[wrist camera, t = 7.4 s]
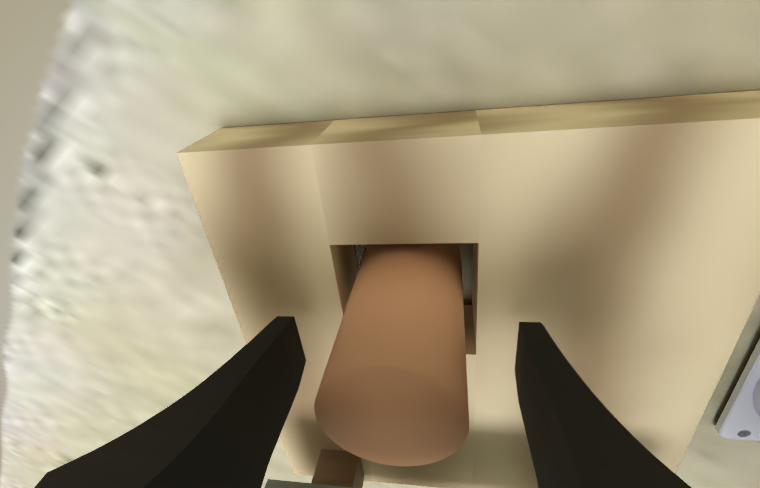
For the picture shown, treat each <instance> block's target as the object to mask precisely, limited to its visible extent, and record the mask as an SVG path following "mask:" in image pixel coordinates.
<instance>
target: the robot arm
mask: <svg viewBox="0 0 760 488" xmlns="http://www.w3.org/2000/svg"><path fill="white" fill-rule="evenodd" d="M305 363H306V358H305V354H304V351H303V347H302V343H301V339H300V336H299V332H298V328H297V325H296V321H295V317H294V316H277V317H276V318H275V319H273V320H272V321H271V322H270V323H269V324H268V325H267V326H266V327H265V328H264V329H263V330H261V331H260V332H259V333H258V334H257V335H256V336H255V337H254V338H253V339H252V340H251V341H250V342H249V343H247V344H246V345H245V346H244V347H243V348H242V349H241V350H240V351H239V352H238V353H236V354H235V355H234V356H233V357H232V358H231V359H230V360H229V361H227V362H226V363H225V364H224V365H223V366H221V367H220V368H219V369H218V370H217V371H215V372H214V373H213V374H212V375H211V376H209V377H208V378H207V379H206V380H205V381H203V382H202V383H201V384H199V385H198V386H197V387H195V388H194V389H193V390H191V391H190V392H189V393H187V394H186V395H185V396H183V397H182V398H180V399H179V400H178V401H176V402H175V403H173V404H172V405H170V406H169V407H167V408H166V409H164V410H163V411H161V412H159V413H158V414H156V415H155V416H153V417H152V418H150V419H148V420H147V421H145V422H144V423H142V424H141V425H139V426H137V427H136V428H134V429H132V430H130V431H129V432H127V433H125V434H123V435H122V436H120V437H118V438H116V439H114V440H112V441H111V442H109V443H107V444H105V445H103V446H101V447H99V448H97V449H96V450H94V451H92V452H90V453H88V454H85V455H83V456H81V457H79V458H77V459H75V460H73V461H71V462H69V463H67V464H65V465H63V466H60V467H58V468H56V469H54V470H52V471H50V472H47V474H46V475H45V476H44V477H43V478H42V479H41V481H40V482H39V483H38V484H37V485H36V486H35V488H261V486H262V482H263V479H264V476H265V473H266V469H267V466H268V464H269V461H270V458H271V455H272V453H273V450H274V448H275V445H276V443H277V441H278V438H279V436H280V433H281V431H282V428H283V426H284V424H285V421H286V419H287V416H288V414H289V412H290V409H291V407H292V404H293V402H294V399H295V397H296V394H297V392H298V389H299V386H300V382H301V379H302V375H303V371H304V367H305ZM515 377H516V386H517V394H518V402H519V406H520V410H521V415H522V419H523V423H524V427H525V432H526V436H527V440H528V444H529V448H530V452H531V457H532V461H533V465H534V469H535V473H536V478H537V483H538V488H691V487H690V486H689V485H687V484H686V483H685V482H684V481H683V480H682V479H680V478H679V477H678V476H677V475H676V474H675V473H674V472H672V471H671V470H670V469H669V468H668V467H667V466H665V465H664V464H663V463H662V462H661V461H660V460H659V459H657V458H656V457H655V456H654V455H653V454H652V453H651V452H650V451H649V450H648V449H647V448H645V447H644V446H643V445H642V444H641V443H640V442H639V441H638V440H637V439H636V438H635V437H634V436H633V435H632V434H631V433H630V432H629V431H628V430H627V429H626V428H625V427H624V426H623V425H622V424H621V423H620V422H619V421H618V420H617V419H616V418H615V417H614V416H613V414H612V413H611V412H610V411H609V410H608V409H607V408H606V407H605V406H604V405H603V403H602V402H601V401H600V400H599V399H598V398H597V397H596V395H595V394H594V393H593V392H592V391H591V389H590V388H589V387H588V386H587V385H586V383H585V382H584V381H583V380H582V378H581V377H580V376H579V375H578V373H577V372H576V371H575V369H574V368H573V367H572V366H571V364H570V363H569V362H568V360H567V359H566V358H565V356H564V355H563V353H562V352H561V351H560V349H559V348H558V346H557V345H556V343H555V342H554V340H553V339H552V337H551V336H550V334H549V333H548V331H547V330H546V328H545V326H544V325H543V324H542V323H541V322H519V329H518V339H517V350H516V360H515ZM715 428H716V430H717V432H718V433H719V435H720V436H721V437H723V438H727V439H738V440H754V441H760V339H759V341H758V343H757V345H756V347H755V349H754V351H753V353H752V355H751V357H750V359H749V361H748V363H747V365H746V367H745V369H744V371H743V373H742V375H741V377H740V378H739V380H738V382H737V384H736V386H735V388H734V390H733V392H732V394H731V396H730V398H729V400H728V402H727V404H726V406H725V408H724V410H723V412H722V414H721V416H720V418H719V420H718V422H717V424H716V427H715Z"/></svg>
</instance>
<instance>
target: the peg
mask: <svg viewBox="0 0 760 488" xmlns="http://www.w3.org/2000/svg"><path fill="white" fill-rule="evenodd" d="M314 410H315V416H316V419H317V421H318V423H319V425H320V427H321V428H322V430H323V431H324V432H325V434H326V435H327V436H328V437H329V438H330V439H331V440H332V441H333V442H334V443H336V444H337V445H339V446H340V447H341V448H343V449H345V450H346V451H348V452H350V453H352V454H354V455H356V456H358V457H361V458H363V459H366V460H369V461H372V462H376V463H380V464H385V465H392V466H420V465H426V464H431V463H434V462H437V461H440V460H443V459H445V458H447V457H449V456H450V455H452V454H453V453H455V452H456V451H457V450H458V449H459V448H460V447H461V446H462V445H463V443H464V442H465V440H466V438H467V436H468V432H469V408H468V388H467V368H466V347H465V327H464V306H463V286H462V265H461V250H460V245H459V243H436V244H367V246H366V249H365V252H364V255H363V258H362V261H361V264H360V267H359V270H358V273H357V276H356V279H355V282H354V285H353V288H352V291H351V294H350V297H349V300H348V303H347V306H346V309H345V312H344V315H343V318H342V321H341V324H340V327H339V330H338V333H337V336H336V339H335V342H334V345H333V348H332V351H331V353H330V356H329V359H328V362H327V365H326V368H325V371H324V374H323V377H322V380H321V383H320V386H319V389H318V392H317V395H316V398H315V403H314Z"/></svg>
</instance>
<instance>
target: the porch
mask: <svg viewBox="0 0 760 488" xmlns="http://www.w3.org/2000/svg"><path fill="white" fill-rule="evenodd" d="M177 156H178V158H179V161H180V164H181V167H182V169H183V172H184V175H185V178H186V180H187V183H188V186H189V188H190V191H191V194H192V197H193V199H194V202H195V205H196V208H197V210H198V213H199V216H200V219H201V221H202V224H203V227H204V229H205V232H206V235H207V238H208V240H209V243H210V246H211V249H212V251H213V254H214V257H215V259H216V262H217V265H218V268H219V270H220V273H221V276H222V279H223V281H224V284H225V287H226V290H227V292H228V295H229V298H230V300H231V303H232V306H233V309H234V311H235V314H236V317H237V320H238V322H239V325H240V328H241V330H242V333H243V336H244V339H245V341H246V344H247V343H249V342H250V341H251V340H252V339H253V338H254V337H255V336H256V335H257V334H258V333H259V332H260V331H261V330H263V329H264V328H265V327H266V326H267V325H268V324H269V323H270V322H271V321H272V320H273V319H275V318H276V317H277V316H294V317H295V321H296V325H297V328H298V332H299V336H300V339H301V343H302V347H303V351H304V354H305V358H306V363H305V367H304V371H303V375H302V379H301V382H300V386H299V389H298V392H297V394H296V397H295V399H294V402H293V404H292V407H291V409H290V412H289V414H288V416H287V419H286V421H285V424H284V426H283V428H282V431H281V433H280V437H281V440H282V442H283V445H284V448H285V451H286V453H287V456H288V459H289V462H290V464H291V467H292V470H293V472H294V474H301V475H311V476H313V479H312V483H301V482H290V481H280V480H270V479H268V481H267V483H266V486H265V488H362V486H363V481H364V480H365V481H376V482H386V483H397V484H408V485H418V486H429V487H440V488H538V483H537V478H536V473H535V469H534V465H533V461H532V457H531V452H530V448H529V444H528V440H527V436H526V432H525V427H524V423H523V419H522V415H521V410H520V406H519V402H518V394H517V386H516V377H515V360H516V350H517V339H518V329H519V322H541V323H542V324H543V325H544V326H545V328H546V330H547V331H548V333H549V334H550V336H551V337H552V339H553V340H554V342H555V343H556V345H557V346H558V348H559V349H560V351H561V352H562V353H563V355H564V356H565V358H566V359H567V360H568V362H569V363H570V364H571V366H572V367H573V368H574V369H575V371H576V372H577V373H578V375H579V376H580V377H581V378H582V380H583V381H584V382H585V383H586V385H587V386H588V387H589V388H590V389H591V391H592V392H593V393H594V394H595V395H596V397H597V398H598V399H599V400H600V401H601V402H602V403H603V405H604V406H605V407H606V408H607V409H608V410H609V411H610V412H611V413H612V414H613V416H614V417H615V418H616V419H617V420H618V421H619V422H620V423H621V424H622V425H623V426H624V427H625V428H626V429H627V430H628V431H629V432H630V433H631V434H632V435H633V436H634V437H635V438H636V439H637V440H638V441H639V442H640V443H641V444H642V445H643V446H644V447H645V448H647V449H648V450H649V451H650V452H651V453H652V454H653V455H654V456H655V457H656V458H657V459H659V460H660V461H661V462H662V463H663V464H664V465H665V466H667V467H668V468H669V469H670V470H671V471H672V472H674V473H676V471H677V469H678V467H679V465H680V462H681V460H682V458H683V456H684V454H685V452H686V450H687V448H688V445H689V443H690V441H691V439H692V437H693V435H694V433H695V431H696V428H697V426H698V424H699V422H700V420H701V418H702V416H703V414H704V411H705V409H706V407H707V405H708V403H709V401H710V399H711V396H712V394H713V392H714V390H715V388H716V386H717V384H718V382H719V379H720V377H721V375H722V373H723V371H724V369H725V367H726V365H727V362H728V360H729V358H730V356H731V354H732V352H733V350H734V348H735V345H736V343H737V341H738V339H739V337H740V335H741V333H742V331H743V328H744V326H745V324H746V322H747V320H748V318H749V316H750V313H751V311H752V309H753V307H754V305H755V303H756V301H757V299H758V296H759V294H760V90H755V91H741V92H727V93H713V94H699V95H684V96H670V97H656V98H642V99H628V100H613V101H599V102H585V103H571V104H557V105H542V106H528V107H514V108H500V109H486V110H471V111H457V112H443V113H429V114H414V115H400V116H386V117H372V118H358V119H343V120H329V121H315V122H301V123H287V124H272V125H258V126H244V127H230V128H221V129H219V130H217V131H215V132H214V133H212V134H210V135H208V136H206V137H204V138H203V139H201V140H199V141H197V142H195V143H194V144H192V145H190V146H188V147H186V148H185V149H183V150H181V151H179V152H177ZM436 243H473V277H472V305H463V306H464V327H465V347H466V368H467V388H468V408H469V432H468V436H467V438H466V440H465V442H464V443H463V445H462V446H461V447H460V448H459V449H458V450H457V451H456V452H455V453H453V454H452V455H450V456H449V457H447V458H445V459H443V460H440V461H437V462H434V463H431V464H426V465H420V466H392V465H385V464H380V463H376V462H372V461H369V460H366V459H363V458H361V457H358V456H356V455H354V454H352V453H350V452H348V451H346V450H345V449H343V448H341V447H340V446H339V445H337V444H336V443H334V442H333V441H332V440H331V439H330V438H329V437H328V436H327V435H326V434H325V432H324V431H323V430H322V428H321V427H320V425H319V423H318V421H317V419H316V416H315V410H314V403H315V398H316V395H317V392H318V389H319V386H320V383H321V380H322V377H323V374H324V371H325V368H326V365H327V362H328V359H329V356H330V353H331V351H332V348H333V345H334V342H335V339H336V336H337V333H338V330H339V327H340V324H341V321H342V318H343V315H344V312H345V309H346V306H347V303H348V300H349V297H350V294H351V291H352V288H353V285H354V282H355V279H356V276H357V273H358V267H357V261H356V255H355V248H354V245H361V244H436Z"/></svg>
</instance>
